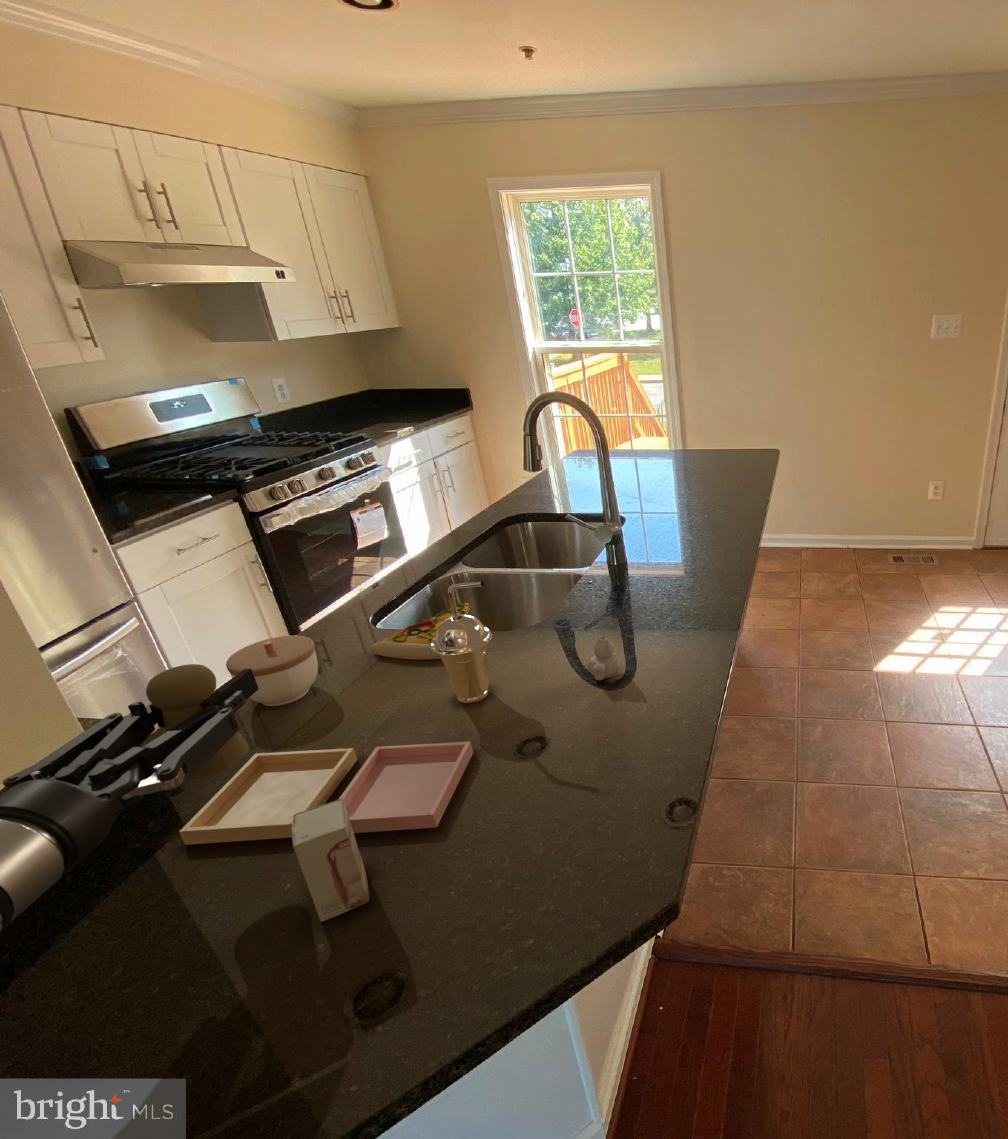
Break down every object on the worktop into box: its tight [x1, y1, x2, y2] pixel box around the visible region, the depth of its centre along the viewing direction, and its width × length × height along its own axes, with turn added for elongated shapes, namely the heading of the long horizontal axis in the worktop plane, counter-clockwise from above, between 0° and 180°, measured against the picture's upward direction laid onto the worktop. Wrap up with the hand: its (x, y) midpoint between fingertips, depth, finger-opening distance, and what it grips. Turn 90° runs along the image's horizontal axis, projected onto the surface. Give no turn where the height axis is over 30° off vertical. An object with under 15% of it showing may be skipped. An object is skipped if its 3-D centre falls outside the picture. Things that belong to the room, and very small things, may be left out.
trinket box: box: [225, 634, 319, 707], centre depth 94 cm, size 11×11×9 cm
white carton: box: [291, 798, 370, 922], centre depth 62 cm, size 5×4×10 cm
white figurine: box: [587, 632, 623, 681], centre depth 100 cm, size 5×7×8 cm
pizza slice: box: [371, 602, 470, 661], centre depth 114 cm, size 16×21×3 cm
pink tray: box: [337, 741, 474, 834], centre depth 77 cm, size 12×13×2 cm
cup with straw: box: [431, 580, 493, 704], centre depth 92 cm, size 8×9×20 cm
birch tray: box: [178, 747, 358, 846], centre depth 75 cm, size 12×13×2 cm
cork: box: [145, 663, 249, 780], centre depth 63 cm, size 6×6×11 cm
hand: (228, 680), depth 68 cm, fingers closed on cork, 4 cm apart
